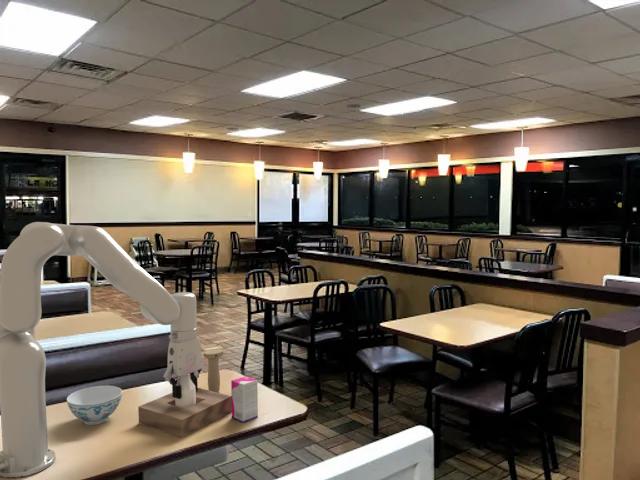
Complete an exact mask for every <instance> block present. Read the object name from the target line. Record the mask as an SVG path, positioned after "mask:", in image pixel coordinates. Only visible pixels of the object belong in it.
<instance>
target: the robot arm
mask: <svg viewBox="0 0 640 480" xmlns="http://www.w3.org/2000/svg"><path fill="white" fill-rule="evenodd" d="M54 256H64V257H67V256H70V257H71V256H72V257H83V258H84V259H85V260H86V261H87V262H88V263H89V264H90V265H91V266H92V267H93V268H94V269H95V270H96V271H98V273H100V274H101V276H103V278H105V280H107V281H108V283H109V284H110V285H111V286H113V287H114V288H116V289H117V290H118V291H120V292H121V293H123V294H125V295H127V296H129V297H130V298H131V299H132V300H134V301H136V302H137V304H139V311H140V313H141V315H142V316H143V317H144V318H146V319H148V320H150V321H152V322H154V323H157V324H158V325H162V326H169V325H170V334H169V335H168V339H169V343H168V350H167V368H166V371H165V373H164V374H163V376H162V378H164V380H166V381H167V383H169V384H170V385H171V386H172V387H171V389H172V392H171V393H172V396H173V397H174V398H177V399H181V398H182V390H181V385H180V381H181V376H184V375H187V374H188V375H190V378H191V381H192V382H193V384H194V385H195V390H196V392H197V391H198V388H199V387H198V383H199V382H198V379H199V378H200V373H201V371H202V369H203V368H204V366H205V364H206V363H205V362H204V361H203V352H202V344H201V339H200V337H199V336H198V328H197V327H198V323H197V321H198V320H197V319H198V318H197V312H198V311H197V310H198V309H197V296H196V294H194V293H193V292H191V291H190V292H188V291H185V292H184V291H183V292H182V291H181V292H175V293H173V294H172V293H170V292H169V291H168V290H167V289H166V288H165V287H164V286H163V285H162V284H161V283H160V282H159V281H158V280H156V279H155V278H154V277H153V276H152V275H150V273H148V272H147V271H146V270H145V269H144V268H143V267H141V266H140V264H138V263H137V261H135V260H134V258H132V256H130V255H129V254H128V253H127V252H126V251H125V250H124V249H123V247H122V246H121V245H120V244H119V243H118V242H117V240H115V239H114V238H113V237H112V236H111V235H110V234H109V233H108V232H107V231H106V230H105V229H103V228H102V227H100V226H94V225H80V224H77V225H75V224H63V223H51V222H48V221H46V222H45V221H43V222H42V221H35V222H34V221H33V222H31V223H29V224H26V225H25V226H24V227H23V228H22V230H21V231H20V233H19V236H18V237H16V238H15V239H14V240H13V241H12V242H11V243H10V244H9V246H8V247H7V249H6V250H5V252H4V255H3V257H2V259H1V265H0V424H1V425H0V427H1V442H2V443H1V444H2V446H1V447H2V451H0V477H2V478H7V477H10V478H11V477H16V478H22V477H21V476H23V477H27V476H30V475H34V474H36V473H39V472H41V471H43V470H45V469H46V468H47V469H48V467H50V466H52V464H53V463H54V462H55V461H56V452H55V451H54V450H52V449H50V448H49V446H48V445H49V444H48V443H49V442H48V423H47V422H48V420H47V403H46V401H47V400H46V367H47V358H46V354H45V351H44V348H43V346H42V345H41V344H40V343H39V342H38V341H37V340H36V339H35V337H36V336H35V333H36V332H35V328H36V327H37V325H38V324H39V323H40V322H41V318H42V312H43V311H42V292H41V291H42V289H41V288H42V287H41V286H42V285H41V284H42V283H41V281H42V272H43V268H44V265H45V263H46V262H47V261H48V260H49V259H50V258H51V257H54ZM10 478H9V479H10ZM11 479H12V478H11Z"/></svg>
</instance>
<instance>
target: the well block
mask: <svg viewBox="0 0 640 480" xmlns="http://www.w3.org/2000/svg"><path fill="white" fill-rule="evenodd" d="M137 408H138V411H137V413H138V424H140V425H143V426H147V427H149V428H152V429H155V430H157V431H161V432H164V433H167V434H169V435H173V436H176V437H179V438H182V439H183V438H185V437H187V436H189V435H191V434H192V433H195V432H196V431H199V430H200V429H202V428H204V427H206V426H208V425H209V424H212V423H213V422H216V421H218V420H220V419H222V418H223V417H225V416H227V415H230V414H232V396H231V395H229V394H228V395H227V394H224V393H220V392H219V393H217V392H213V391H209V389H206V388H205V389H204V388H201V387H198V391H197V392H196V404H195V405H192V406H190V407H188V408H186V409H185V408H181V407H178V406H175V398H174V397H173V396H172V392H171V393H168V394H166V395H164V396H161V397H159V398H156V399H154V400H152V401H148V402H146V403H144V404H142V405H139V406H138V407H137Z"/></svg>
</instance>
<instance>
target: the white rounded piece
mask: <svg viewBox="0 0 640 480" xmlns="http://www.w3.org/2000/svg"><path fill="white" fill-rule="evenodd" d="M180 385H181V390H182V398H181V399H177V398H175V406H178V407H181V408H185V409H186V408H188V407H190V406H192V405H195V404H196V390H195V385H194V384H193V382H192V381H191V378H190V375H189V374H187V375H184V376H181V381H180Z"/></svg>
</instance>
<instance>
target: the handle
mask: <svg viewBox="0 0 640 480" xmlns="http://www.w3.org/2000/svg"><path fill="white" fill-rule="evenodd" d="M223 355H224V350H223V349H221V348H215V349H210V350H209V349H208V350H205V351H203V352H202V357H204V358H206V359H207V361H208V362H207V363H208V364H207V365H208V368H207V386H208V387H207V390H209V391H213V392H217V393H220V389H221V388H220V387H221V375H220V364H219V363H220V362H219V359H220V358H221V357H222V356H223Z"/></svg>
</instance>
